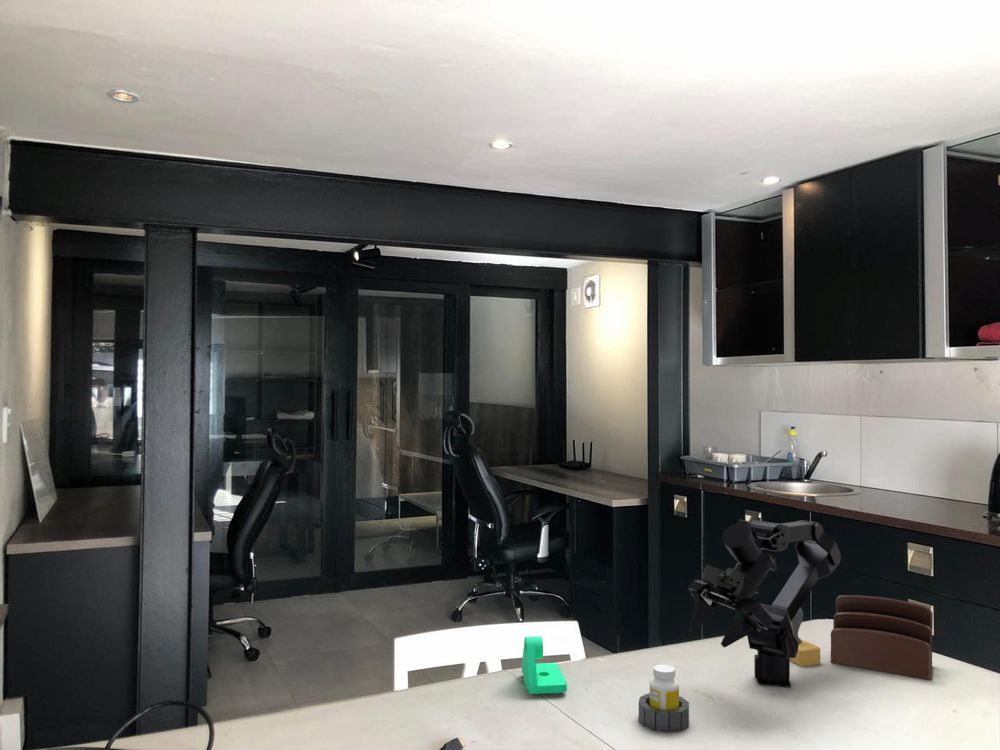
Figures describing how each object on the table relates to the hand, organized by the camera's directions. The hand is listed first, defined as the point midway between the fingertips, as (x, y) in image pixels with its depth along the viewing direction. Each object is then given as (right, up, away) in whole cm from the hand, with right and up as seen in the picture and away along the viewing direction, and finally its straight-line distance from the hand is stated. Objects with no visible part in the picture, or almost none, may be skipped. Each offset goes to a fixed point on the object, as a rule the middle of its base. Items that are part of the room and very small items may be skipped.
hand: (706, 638), depth 153 cm
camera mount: (-32, -13, +7) cm, 35 cm away
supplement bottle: (-10, -13, -9) cm, 18 cm away
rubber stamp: (+27, -13, +24) cm, 39 cm away
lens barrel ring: (-10, -12, -9) cm, 18 cm away
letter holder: (+44, -13, +20) cm, 51 cm away
